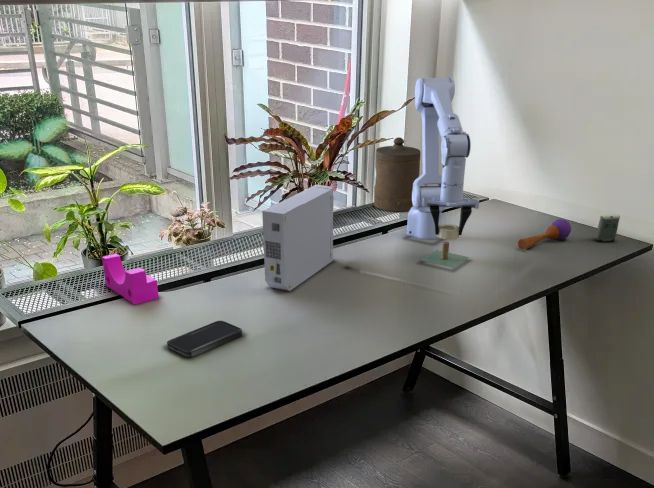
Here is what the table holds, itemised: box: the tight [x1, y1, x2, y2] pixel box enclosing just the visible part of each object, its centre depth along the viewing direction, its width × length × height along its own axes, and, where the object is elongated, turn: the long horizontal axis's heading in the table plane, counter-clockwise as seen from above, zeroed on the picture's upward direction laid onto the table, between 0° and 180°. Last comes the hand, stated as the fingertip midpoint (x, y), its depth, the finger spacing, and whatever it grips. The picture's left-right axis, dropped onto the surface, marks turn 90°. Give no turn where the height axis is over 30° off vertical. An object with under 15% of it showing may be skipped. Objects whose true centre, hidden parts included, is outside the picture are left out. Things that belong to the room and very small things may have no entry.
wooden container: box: [373, 136, 421, 212], centre depth 241 cm, size 15×15×22 cm
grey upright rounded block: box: [596, 213, 621, 243], centre depth 215 cm, size 6×5×8 cm
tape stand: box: [420, 241, 470, 269], centre depth 198 cm, size 10×10×6 cm
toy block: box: [101, 253, 160, 305], centre depth 175 cm, size 15×6×8 cm, turn 41°
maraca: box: [517, 218, 572, 251], centre depth 213 cm, size 6×6×20 cm
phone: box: [166, 320, 243, 358], centre depth 154 cm, size 8×1×15 cm
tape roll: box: [438, 223, 460, 241], centre depth 195 cm, size 6×6×2 cm
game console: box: [261, 184, 334, 292], centre depth 184 cm, size 6×27×20 cm, turn 155°
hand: (448, 233), depth 195 cm, fingers closed on tape roll, 5 cm apart
